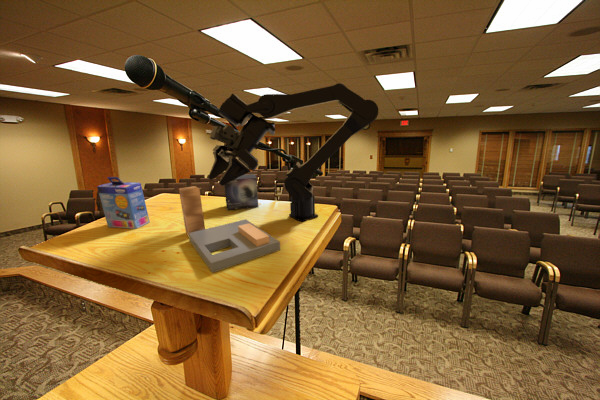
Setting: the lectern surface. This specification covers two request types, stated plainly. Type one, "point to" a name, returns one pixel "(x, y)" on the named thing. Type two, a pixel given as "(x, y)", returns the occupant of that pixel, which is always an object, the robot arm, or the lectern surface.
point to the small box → (242, 192)
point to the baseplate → (232, 244)
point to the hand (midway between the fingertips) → (214, 181)
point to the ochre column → (192, 209)
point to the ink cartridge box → (123, 204)
